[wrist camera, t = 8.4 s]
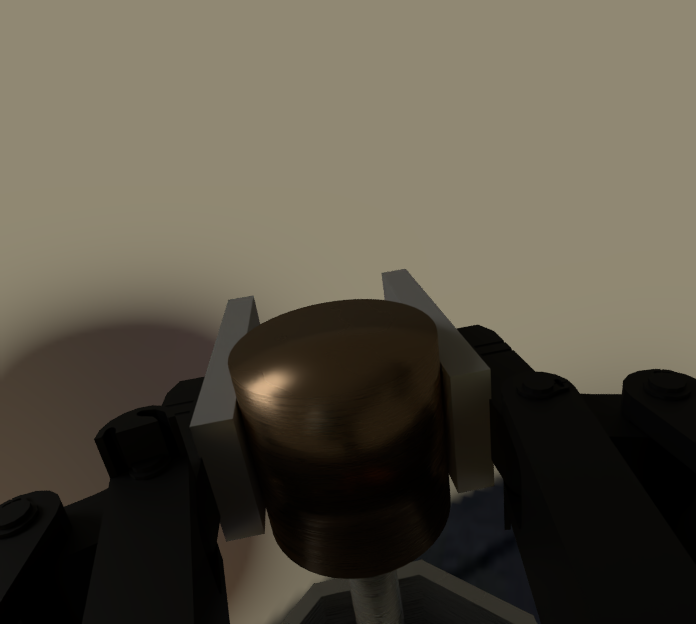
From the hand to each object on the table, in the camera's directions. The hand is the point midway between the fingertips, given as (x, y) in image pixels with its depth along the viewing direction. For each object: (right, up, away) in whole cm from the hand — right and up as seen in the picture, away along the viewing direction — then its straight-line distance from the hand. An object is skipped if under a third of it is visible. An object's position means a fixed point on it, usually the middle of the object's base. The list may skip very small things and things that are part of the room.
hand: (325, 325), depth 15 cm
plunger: (+4, -23, +4) cm, 24 cm away
